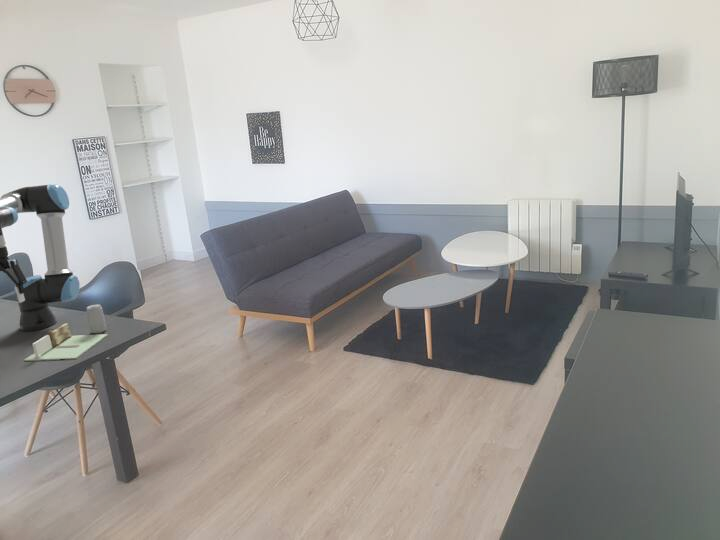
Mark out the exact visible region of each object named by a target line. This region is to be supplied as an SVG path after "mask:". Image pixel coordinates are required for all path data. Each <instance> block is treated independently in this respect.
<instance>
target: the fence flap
mask: <svg viewBox="0 0 720 540" xmlns="http://www.w3.org/2000/svg"><path fill="white" fill-rule="evenodd" d="M51 348H52V344H51V340H50V336H49V335H48V334H45V335H44V336H43V337H41V338H39V339H38V340H37V341H34V342H33V343H32V349H33V352H34V353H35V357H34V358H40V357H42V356H40V355H42V354H43V353H45V352H46V351H48V350H49V349H51ZM34 353H33V354H34Z"/></svg>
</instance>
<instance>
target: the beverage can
mask: <svg viewBox="0 0 720 540" xmlns="http://www.w3.org/2000/svg"><path fill="white" fill-rule="evenodd" d="M85 312H86V316H87V320H88V325H89V329H90V332H91V334H93V335H99V334H103V333H104V332H105V331H107V324H106V320H105V315H104V310H103V307H102V306H101V304H100V303H99V304H91V305H89V306H86V311H85Z"/></svg>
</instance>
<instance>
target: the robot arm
mask: <svg viewBox="0 0 720 540" xmlns="http://www.w3.org/2000/svg"><path fill="white" fill-rule="evenodd" d="M69 207H70V199H69V196H68V193H67V192H66V190H65V188H63V186H61V185H59V184H44V185H43V184H42V185H35V186H34V185H33V186H25V187H21V188H18V189H15V190H12V191H9V192H6V193H5V194H2V196H0V272H3V273H4V274H6V276H7V277H8V278H9V279H10V280H11V281H12V282H13V283H14V285H13V287H14V288H13V289H14V293H15V297H16V300H17V303H18V304H17V305H18V309H19V311H20V317H19V329H20V331H22V332H32V331H38V330H43V329H46V328H49V327H51V326H53V325H55V324H56V323H57V322H58V321H57V318H56V316H55V314H54V313H53V311H52V309H51V308H50V306H49V304H53V303H54V304H55V303H66V302H71V301H75V299H77V297H78V295H79V293H80V287H81V285H80V280H79V278H78V277H77V275H74V272H73V271H72V270H71V269H70V268H69V263H68V253H67V247H66V239H65V230H64V223H63V218H64V215H66V210H68V209H69ZM24 213H36V216H37V217H38V218H39V219H40V222H41V223H40V224H41V228H42V237H43V245H44V246H43V247H44V253H45V261H46V268H47V269H46V270H47V271H46V272H45V273H44V278H43V276H42V275H40V274H39V275H32V276H28V277H25V275H24V273H23V271H22V269H21V268H20V266H19V263H18V260H17V258H14V259H10V258H9V256H8V255H9V252H8V248H7V246H6V239H5V236H4V232H3V229H4V228H7V227H11V226H13V225H14V224H16V223H17V222H18V219H19V214H24Z"/></svg>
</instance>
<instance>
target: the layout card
mask: <svg viewBox="0 0 720 540" xmlns="http://www.w3.org/2000/svg"><path fill="white" fill-rule="evenodd" d="M71 336H72V337H71V338H66V339H65V340H63V341H62V342H60V345H55V346H56V347H55V348H51V349H49V350H48V351H46V352H45V353H43V354H42V355H40V356H42V357H40V358H34V357H35V353H33V354H31V355H28V357H26V358H25V359H23V360H24V362H34V361H36V362H38V361H41V362H42V361H59V360H60V359H65V360H77V359H79V358H80V357H81V356H82V355H84V354H85V353H87V352H88V351H90V350H91V349H92V348H94V347H95V346H96V345H97V344H98V343H100V342H101V341H103V340H104V339H106V338H107V337H108V336H109V334H108V333H106V334H104V333H99V334H82V335H79V334H77V335H71ZM60 361H61V360H60Z"/></svg>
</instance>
